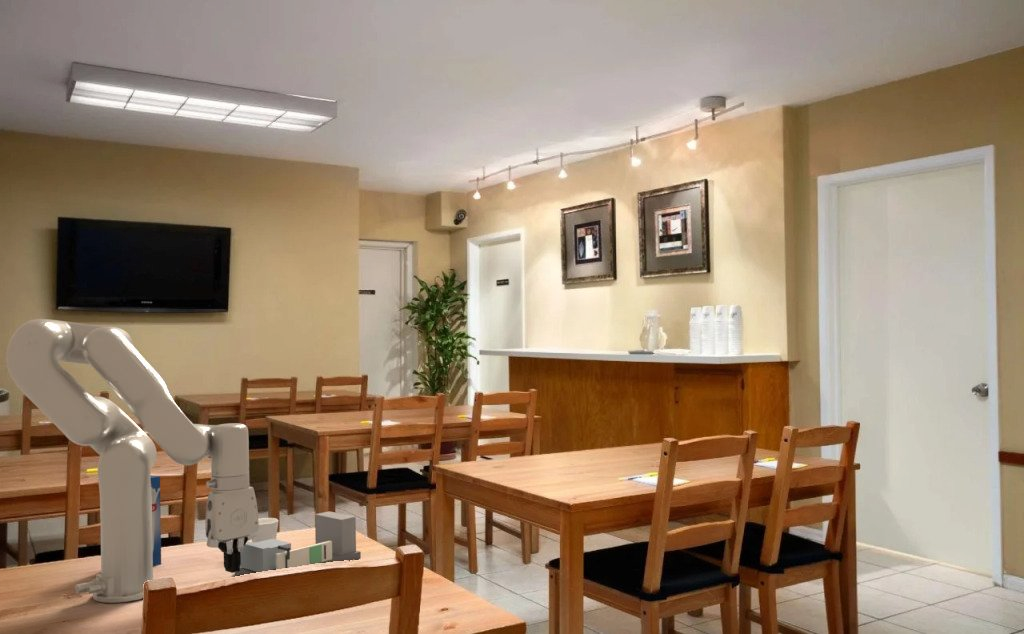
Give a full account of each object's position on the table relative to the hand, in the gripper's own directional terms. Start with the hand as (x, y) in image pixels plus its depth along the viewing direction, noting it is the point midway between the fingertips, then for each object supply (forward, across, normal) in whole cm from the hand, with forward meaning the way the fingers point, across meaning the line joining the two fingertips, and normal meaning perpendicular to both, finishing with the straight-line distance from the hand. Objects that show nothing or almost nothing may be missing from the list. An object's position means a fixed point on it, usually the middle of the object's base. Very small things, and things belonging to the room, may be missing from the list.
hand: (232, 570), depth 176 cm
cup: (+3, +16, +16) cm, 23 cm away
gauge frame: (+3, +17, 0) cm, 17 cm away
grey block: (+1, +8, -1) cm, 8 cm away
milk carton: (+3, -7, +30) cm, 31 cm away
